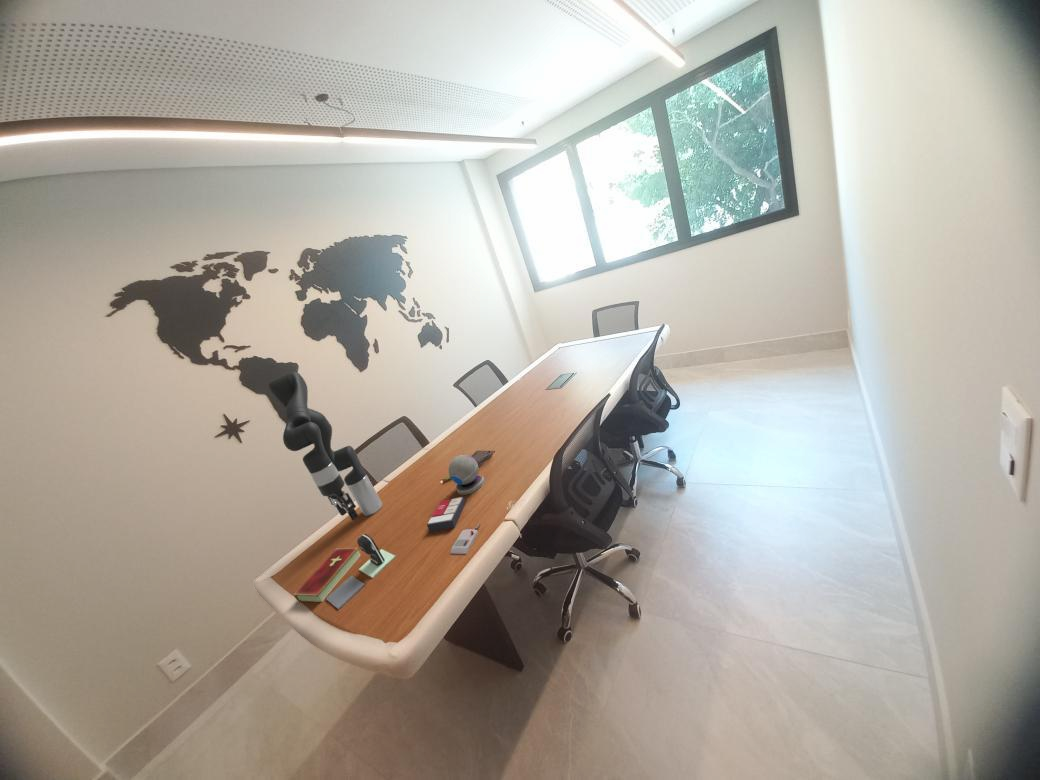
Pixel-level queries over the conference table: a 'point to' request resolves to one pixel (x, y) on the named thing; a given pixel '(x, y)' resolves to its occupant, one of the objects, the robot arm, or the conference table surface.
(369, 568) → the green pad
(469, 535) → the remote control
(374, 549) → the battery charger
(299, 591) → the hardcover book
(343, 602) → the charcoal pad
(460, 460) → the webcam
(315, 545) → the conference table surface
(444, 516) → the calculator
